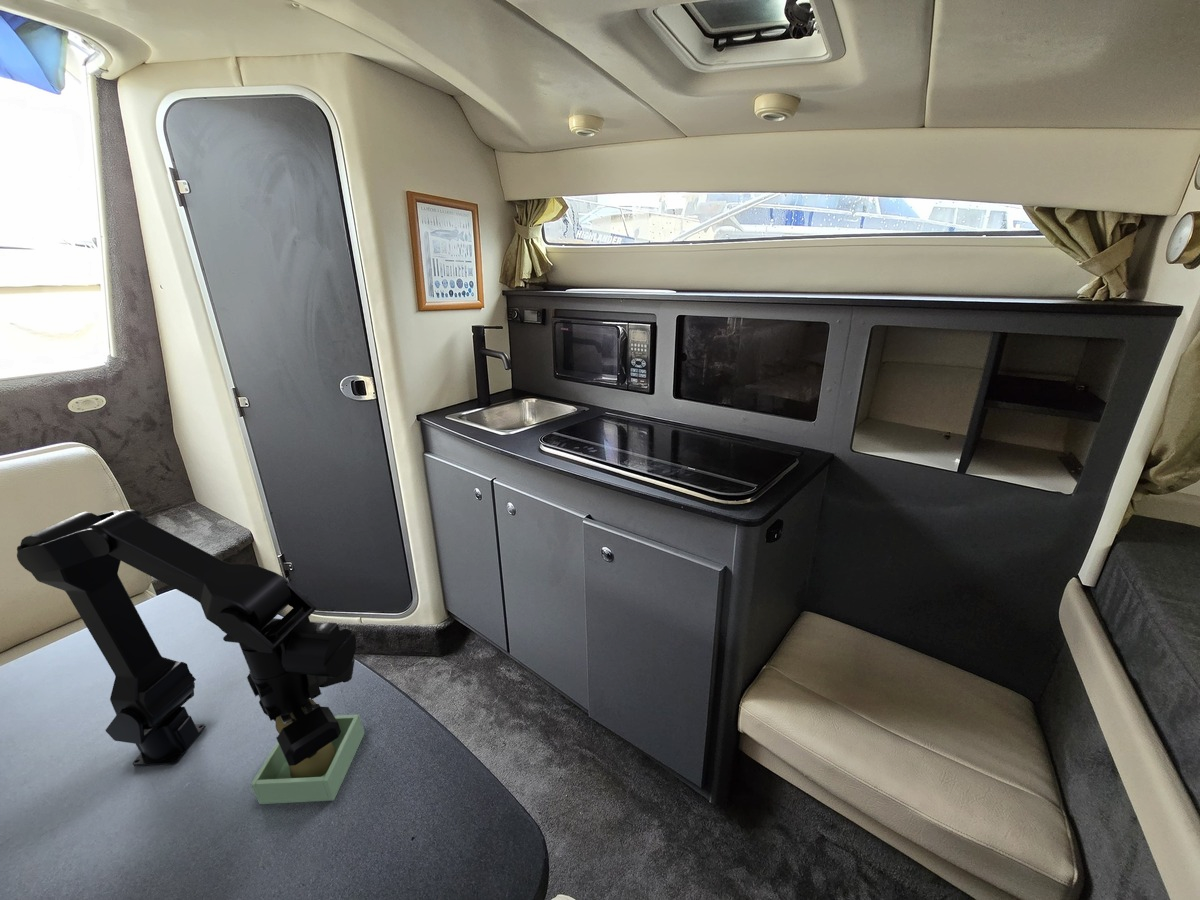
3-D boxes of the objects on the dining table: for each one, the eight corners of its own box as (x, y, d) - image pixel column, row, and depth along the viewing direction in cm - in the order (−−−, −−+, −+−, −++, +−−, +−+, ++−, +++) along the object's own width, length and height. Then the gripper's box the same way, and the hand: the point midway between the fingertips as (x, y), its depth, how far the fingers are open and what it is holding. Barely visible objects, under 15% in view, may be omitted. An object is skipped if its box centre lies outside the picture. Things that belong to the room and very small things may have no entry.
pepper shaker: (316, 787, 69) (296, 731, 65) (280, 779, 70) (257, 724, 66) (345, 747, 74) (328, 693, 70) (311, 740, 76) (292, 687, 71)
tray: (259, 804, 68) (250, 784, 66) (299, 736, 77) (292, 717, 75) (334, 800, 68) (326, 780, 66) (364, 733, 77) (359, 714, 76)
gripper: (367, 663, 64) (390, 747, 70) (317, 601, 76) (340, 676, 82) (271, 720, 57) (305, 807, 63) (231, 640, 69) (264, 720, 75)
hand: (307, 745), depth 71 cm, fingers closed on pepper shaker, 4 cm apart
